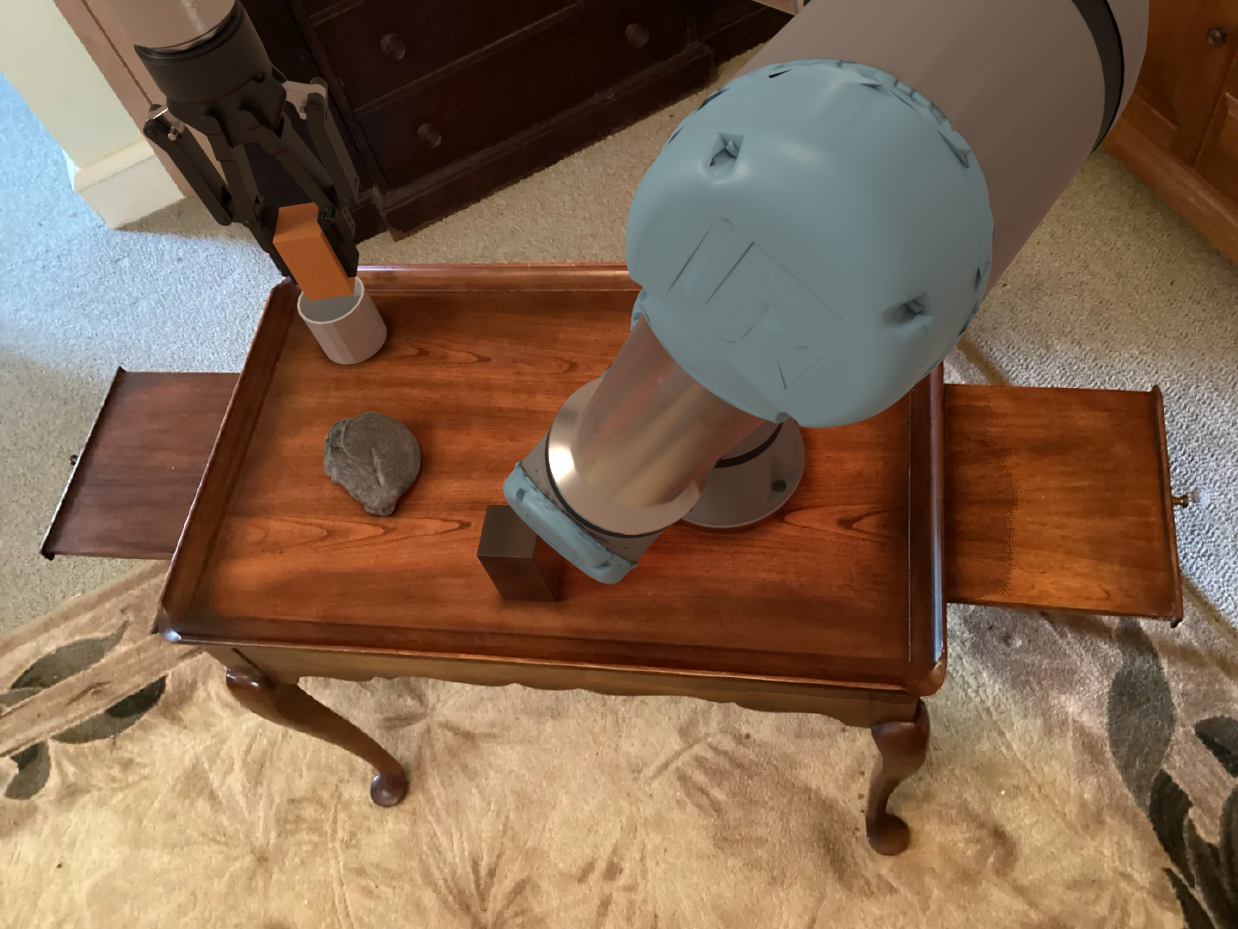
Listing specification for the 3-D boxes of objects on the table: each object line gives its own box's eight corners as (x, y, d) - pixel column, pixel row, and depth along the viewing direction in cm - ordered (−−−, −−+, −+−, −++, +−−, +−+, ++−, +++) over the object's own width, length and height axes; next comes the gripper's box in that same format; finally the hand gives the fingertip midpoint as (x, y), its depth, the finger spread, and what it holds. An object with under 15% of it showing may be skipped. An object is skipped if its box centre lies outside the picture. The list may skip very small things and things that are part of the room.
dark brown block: (563, 552, 90) (542, 505, 83) (555, 602, 88) (533, 557, 80) (512, 551, 91) (487, 503, 84) (503, 599, 88) (476, 555, 81)
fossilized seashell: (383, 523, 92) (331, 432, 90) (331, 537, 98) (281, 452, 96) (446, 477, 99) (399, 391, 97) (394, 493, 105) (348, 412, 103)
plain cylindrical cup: (389, 309, 110) (367, 266, 105) (384, 359, 106) (360, 318, 101) (328, 318, 111) (302, 276, 105) (320, 368, 107) (292, 327, 101)
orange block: (358, 260, 84) (326, 200, 78) (353, 294, 82) (320, 235, 76) (314, 266, 84) (279, 207, 78) (308, 301, 82) (272, 242, 76)
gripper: (317, -36, 63) (426, 223, 83) (75, 6, 65) (238, 251, 85) (303, 32, 59) (421, 288, 79) (46, 76, 61) (224, 316, 81)
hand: (327, 268), depth 82 cm, fingers closed on orange block, 4 cm apart
